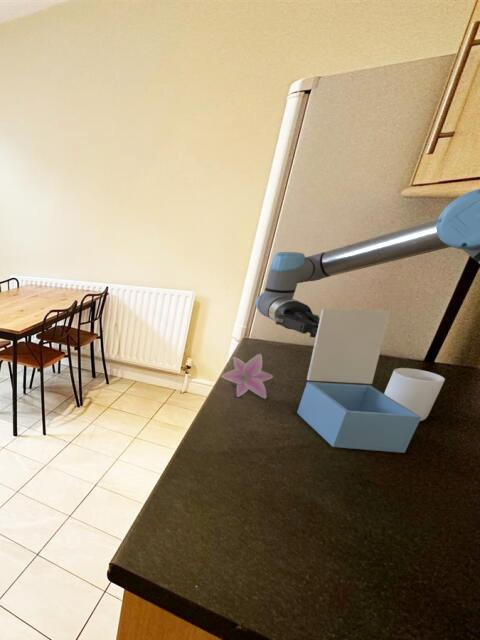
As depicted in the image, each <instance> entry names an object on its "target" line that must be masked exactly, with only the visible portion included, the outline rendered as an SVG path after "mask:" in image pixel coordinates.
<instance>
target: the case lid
mask: <svg viewBox="0 0 480 640" xmlns="http://www.w3.org/2000/svg"><path fill="white" fill-rule="evenodd" d="M390 315H391V310H380V309H377V310H376V309H335V308H334V309H332V308H331V309H330V308H321V312H320V316H319V318H320V320H319V325H318V330H317V334H316V337H315V339H314V344H313V349H312V353H311V358H310V363H309V367H308V371H307V376H306V380H307V381H309V382H327V383H346V384H365V385H373V381H374V377H375V375H376V370H377V366H378V363H379V358H380V354H381V351H382V346H383V343H384V339H385V334H386V331H387V327H388V323H389V320H390V319H389V318H390Z"/></svg>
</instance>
